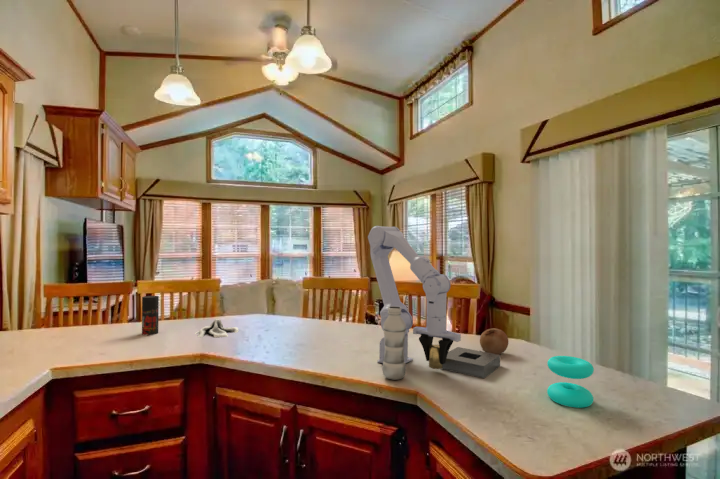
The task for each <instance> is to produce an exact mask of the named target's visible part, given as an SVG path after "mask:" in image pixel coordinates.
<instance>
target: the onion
mask: <svg viewBox="0 0 720 479" xmlns="http://www.w3.org/2000/svg"><path fill="white" fill-rule="evenodd" d="M479 345H480V347H481V349H482V352H488V353H493V354H498V355H501V354H502V353H504V352H505V351H506V350H507V349H508V346H509V338H508V335H507V334H506V332H505V331H503V330H502V329H500V328H497V327H496V328H494V327H493V328H488V329H486V330H484V331H483V332H482V333H481V335H480V337H479Z"/></svg>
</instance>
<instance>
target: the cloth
mask: <svg viewBox="0 0 720 479" xmlns="http://www.w3.org/2000/svg"><path fill="white" fill-rule="evenodd" d="M238 332H239V327H237V326H234V327H224V325H223V323H222V320H221V319H219V318H216V319H214V320H213V321H212V322H211V324H210V325H206V326H203V327H202V328H200V330H198V331H196V332H195V333H194V335H197V338H203V337H204V336H205V335H206V334H207V335H213V338H225V337H227V338H228V337H229V335H228V333H235V334H237V333H238Z"/></svg>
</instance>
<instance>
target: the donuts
mask: <svg viewBox="0 0 720 479" xmlns="http://www.w3.org/2000/svg"><path fill="white" fill-rule="evenodd" d="M546 363H547V364H546V365H547V367H548V369H549V370H550V371H551V373H553V374H555V375H557V376H560V377H563V378H567V379H570V380H571V379H572V380H584V379H588V378H590V377H591V376H592V375H593V374H594V370H595V369H594V366H593V364H592V363H591V362H590V361H588V360H586V359H584V358H581V357H576V356H569V355H556V356H555V355H554V356H551V357H550V358H549V359H548V360H547V362H546ZM546 393H547V396H548V398H550V400H551V401H553V402H555V403H557V404H558V405H561V406H563V407H569V408H570V407H571V408H577V409H578V408H579V409H580V408H582V409H583V408H587V407H590V406H591V405H592V404H593V403H594V396H593V394H592V392H591V391H590V390H589V389H587V388H585V387H584V386H583V385H579V384H577V383H573V382H567V381H566V382H565V381H562V382H561V381H558V382H554V383H552V384H550V385H548V387H547V390H546Z"/></svg>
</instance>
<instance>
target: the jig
mask: <svg viewBox="0 0 720 479" xmlns="http://www.w3.org/2000/svg"><path fill="white" fill-rule="evenodd" d="M500 366H501V354H499V355H498V354H493V353H488V352H485V351H483V350H482V351H481V350H478V349H477V350H475V349H471V348H464V347H461V346H458V347H455V348H453V349H451V350H449V351H448V354H447V358H446V362H445V363H444V364H443V368H441V369H440V370H445V371H450V372H455V373H458V374H463V375H466V376H472V377H477V378H479V379H480V378H481V379H485V378H487V377H488V376H489V375H491V373H493V372H494V371H496V370H497V369H498V368H500Z"/></svg>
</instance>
